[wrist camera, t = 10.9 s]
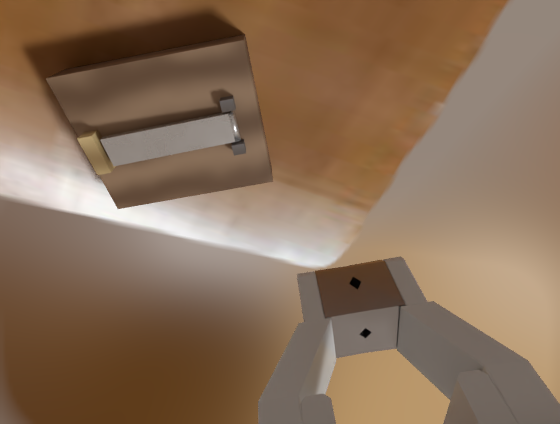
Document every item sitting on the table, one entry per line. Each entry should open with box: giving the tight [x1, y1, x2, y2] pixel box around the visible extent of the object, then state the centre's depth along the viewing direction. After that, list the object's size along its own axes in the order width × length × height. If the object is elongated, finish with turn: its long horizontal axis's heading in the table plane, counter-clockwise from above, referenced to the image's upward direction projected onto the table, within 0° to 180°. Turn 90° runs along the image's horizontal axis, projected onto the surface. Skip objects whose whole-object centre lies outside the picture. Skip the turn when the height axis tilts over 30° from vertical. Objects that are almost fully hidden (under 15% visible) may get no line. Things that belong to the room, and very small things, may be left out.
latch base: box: [46, 34, 273, 209], centre depth 38 cm, size 16×20×6 cm
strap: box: [100, 111, 241, 166], centre depth 36 cm, size 3×14×1 cm, turn 99°
